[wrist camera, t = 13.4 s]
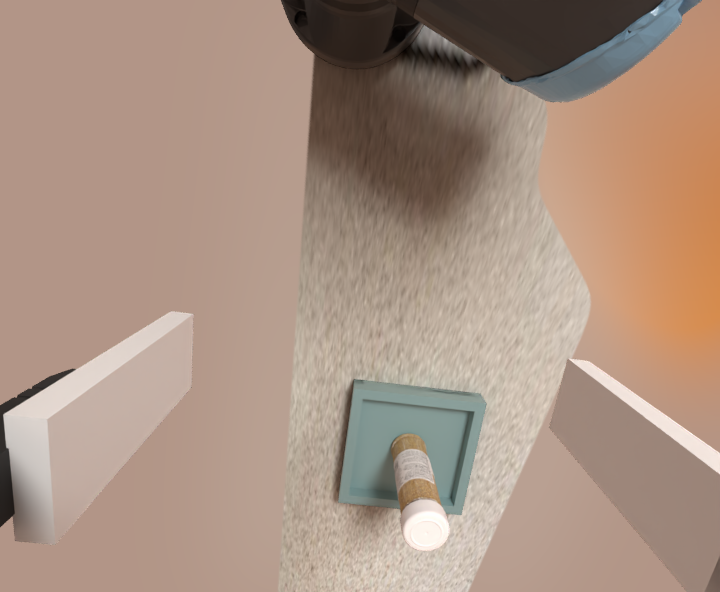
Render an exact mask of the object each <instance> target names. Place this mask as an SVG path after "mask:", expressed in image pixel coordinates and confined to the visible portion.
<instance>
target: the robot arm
mask: <svg viewBox="0 0 720 592" xmlns="http://www.w3.org/2000/svg"><path fill="white" fill-rule="evenodd" d="M701 1H702V0H281V2H282V4H283V7H284V10H285V12H286V15H287V18H288V20H289V22H290V24H291V26H292V28H293V30H294V31H295V33H296V35H297V36H298V37H299V39H300V40H301V41H302V42H303V44H305V46H306V47H307V48H308V49H310V50H311V51H312V52H313V53H314V54H315V55H317V56H318V57H320V58H321V59H323V60H325V61H327V62H329V63H331V64H334V65H337V66H340V67H344V68H351V69H364V68H370V67H375V66H378V65H381V64H383V63H386V62H388V61H390V60H391V59H393V58H395V57H396V56H398V55H399V54H400V53H401V52H403V51H404V50H405V49H406V48H407V47H408V46H409V45H410V44H411V43H412V42H413V40H414V39H415V38H416V36H417V35H418V33H419V32H420V30H421V28H422V26H423V25H425V26H427V27H428V28H430V29H432V30H433V31H435V32H436V33H438V34H439V35H441V36H442V37H444V38H445V39H447V40H449V41H450V42H452V43H453V44H455V45H456V46H458V47H459V48H461V49H462V50H464V51H466V52H467V53H469V54H470V55H472V56H473V57H475V58H476V59H478V60H480V61H481V62H483V63H484V64H486V65H487V66H489V67H490V68H492V69H493V70H495V71H497V72H498V73H500V75H501V78H502V79H503V80H504V81H505V82H507V83H508V84H511V85H515V86H520V87H522V88H524V89H525V90H527V91H529V92H531V93H532V94H534V95H536V96H538V97H539V98H541V99H543V100H545V101H549V102H570V101H574V100H577V99H580V98H583V97H585V96H588V95H590V94H592V93H594V92H596V91H598V90H600V89H601V88H603V87H605V86H607V85H608V84H610V83H611V82H613V81H614V80H616V79H617V78H619V77H620V76H621V75H623V74H624V73H626V72H627V71H628V70H630V69H631V68H633V67H634V66H635V65H636V64H638V63H639V62H640V61H641V60H642V59H644V58H645V57H646V56H647V55H649V54H650V53H651V52H652V51H653V50H654V49H656V48H657V47H658V46H659V45H660V44H661V43H662V42H663V41H664V40H665V39H666V38H667V37H668V36H669V35H670V34H671V33H672V32H673V31H674V30H675V29H676V28H677V27H678V26H679V25H680V24H681V22H682V15H683V14H685V13H686V12H687V11H688V10H690V9H691V8H692V7H694V6H696V5H697V4H698V3H700V2H701ZM193 320H194V314H190V313H182V312H173V311H170V312H169V313H167V314H166V315H164V316H162V317H161V318H160V319H158V320H156V321H154V322H153V323H151V324H149V325H148V326H146V327H144V328H143V329H141V330H140V331H138V332H136V333H135V334H133V335H132V336H130V337H128V338H127V339H125V340H124V341H122V342H120V343H119V344H117V345H115V346H114V347H112V348H110V349H109V350H107V351H106V352H104V353H102V354H101V355H99V356H97V357H96V358H94V359H93V360H91V361H89V362H88V363H86V364H85V365H83V366H81V367H80V368H78V369H70V370H67V371H64V372H61V373H58V374H56V375H53V376H50V377H48V378H46V379H45V380H43V381H41V382H39V383H38V384H36V385H34V386H33V387H32V389H27V390H26V391H24V392H22V393H21V394H19V395H18V396H17V398H15V397H14V398H12V399H10V400H9V401H7V402H5V403H3V404H2V405H0V527H1V526H2V525H3V524H4V523H5V522H6V521H7V520H9V519H10V518H11V517H12V516H13V524H14V534H15V541H20V542H32V543H42V544H52V545H56V544H57V542H58V541H59V540H60V539H61V538H62V537H63V535H64V534H65V533H66V532H67V531H68V530H69V528H70V527H71V526H72V525H73V524H74V523H75V521H76V520H77V519H78V518H79V517H80V516H81V515H82V513H83V512H84V511H85V510H86V509H87V507H89V505H90V504H91V503H92V502H93V501H94V500H95V498H96V497H97V496H98V495H99V494H100V493H101V491H102V490H103V489H104V488H105V487H106V486H107V484H108V483H109V482H110V481H111V480H112V479H113V477H114V476H115V475H116V474H117V473H118V472H119V471H120V469H121V468H122V467H123V466H124V465H125V464H126V463H127V461H128V460H129V459H130V458H131V457H132V456H133V454H134V453H135V452H136V451H137V450H138V449H139V447H140V446H141V445H142V444H143V443H144V442H145V440H146V439H147V438H148V437H149V436H150V435H151V433H152V432H153V431H154V430H155V429H156V428H157V427H158V425H159V424H160V423H161V422H162V421H163V420H164V419H165V417H166V416H167V415H168V414H169V413H170V411H172V409H173V408H174V407H175V406H176V405H177V404H178V402H179V401H180V400H181V399H182V398H183V397H184V395H185V394H186V393H187V392H188V391H189V390H190V389H191V384H192V353H193ZM549 428H550V429H551V430H552V432H553V433H554V434H555V435H556V436H557V438H558V439H559V440H560V441H561V442H562V444H563V445H564V446H565V447H566V448H567V450H568V451H569V452H570V453H571V454H572V455H573V457H574V458H575V459H576V460H577V461H578V463H579V464H580V465H581V466H582V467H583V469H584V470H585V471H586V472H587V473H588V475H589V476H590V477H591V478H592V479H593V481H594V482H595V483H596V484H597V485H598V486H599V488H600V489H601V490H602V491H603V492H604V494H605V495H606V496H607V497H608V498H609V499H610V501H611V502H612V503H613V504H614V505H615V507H616V508H617V509H618V510H619V511H620V513H621V514H622V515H623V516H624V517H625V519H626V520H627V521H628V522H629V523H630V525H631V526H632V527H633V528H634V529H635V531H636V532H637V533H638V534H639V535H640V537H641V538H642V539H643V540H644V541H645V542H646V544H647V545H648V546H649V547H650V548H651V550H652V551H653V552H654V553H655V554H656V555H657V557H658V558H659V559H660V560H661V562H662V563H663V564H664V565H665V566H666V567H667V569H668V570H669V571H670V572H671V574H672V575H673V576H674V577H675V578H676V579H677V581H678V582H679V583H680V584H681V585H682V587H683V588H684V589H685V590H686V591H687V592H720V453H719V452H717V451H716V450H714V449H713V448H712V447H710V446H709V445H707V444H706V443H704V442H703V441H702V440H700V439H699V438H697V437H696V436H695V435H693V434H692V433H690V432H689V431H687V430H686V429H684V428H683V427H682V426H680V425H679V424H677V423H676V422H675V421H673V420H672V419H670V418H669V417H667V416H666V415H665V414H663V413H662V412H660V411H659V410H658V409H656V408H655V407H653V406H652V405H650V404H649V403H648V402H646V401H645V400H643V399H642V398H640V397H639V396H638V395H636V394H635V393H633V392H632V391H630V390H629V389H627V388H626V387H625V386H623V385H622V384H621V383H619V382H618V381H616V380H615V379H613V378H612V377H611V376H609V375H608V374H606V373H605V372H603V371H602V370H601V369H599V368H598V367H596V366H595V365H593V364H592V363H591V362H589V361H583V360H575V359H568V360H567V363H566V367H565V371H564V374H563V378H562V382H561V385H560V389H559V393H558V396H557V400H556V404H555V408H554V412H553V415H552V419H551V422H550V426H549Z"/></svg>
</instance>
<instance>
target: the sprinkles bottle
mask: <svg viewBox="0 0 720 592" xmlns="http://www.w3.org/2000/svg"><path fill="white" fill-rule="evenodd" d="M391 454H392V457H393V462H394V474H395V481H396V488H397V494H398V500H399V505H400V510H401V518H400V523H401V529H402V534H403V538H404V540H405V542H406V543H407V544H408V545H409V546H410V547H412V548H414V549H416V550H420V551H430V550H434V549H436V548H438V547H440V546H441V545H443V544H444V543H445V541H446V540H447V538H448V535H449V524H448V520H447V516H446V513H445V511H444V509H443V507H442V505H441V502H440V498H439V494H438V490H437V487H436V483H435V478H434V474H433V471H432V467H431V463H430V460H429V458H428V455H427V451H426V445H425V442H424V441H423V440H422V438H420V437H419V436H418V435H415V434H409V433H407V434H402V435H400V436H399V437H397V438H396V439H395V440H394V441H393V443H392V446H391Z"/></svg>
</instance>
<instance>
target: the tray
mask: <svg viewBox="0 0 720 592" xmlns="http://www.w3.org/2000/svg"><path fill="white" fill-rule="evenodd" d="M485 409H486V402H485V400H484V399H483V397H482V396H481V394H478V393H469V392H461V391H452V390H443V389H434V388H426V387H417V386H408V385H400V384H391V383H382V382H373V381H365V380H356V379H354V383H353V391H352V398H351V405H350V413H349V420H348V427H347V434H346V442H345V449H344V456H343V464H342V471H341V478H340V486H339V499H338V503H348V504H358V505H368V506H377V507H387V508H397V509H400V505H399V500H398V494H397V488H396V481H395V474H394V462H393V457H392V454H391V446H392V443H393V441H394V440H395V439H396V438H397V437H399V436H400V435H402V434H407V433H409V434H415V435H418V436H419V437H420V438H422V440H423V441H424V442H425V445H426V451H427V455H428V458H429V460H430V463H431V467H432V471H433V474H434V478H435V483H436V487H437V490H438V494H439V498H440V502H441V505H442V507H443V509H444V511H445V513H446V514H456V515H461V514H462V510H463V506H464V501H465V497H466V492H467V488H468V484H469V479H470V475H471V470H472V466H473V462H474V457H475V453H476V448H477V444H478V439H479V435H480V431H481V426H482V422H483V417H484V413H485Z"/></svg>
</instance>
